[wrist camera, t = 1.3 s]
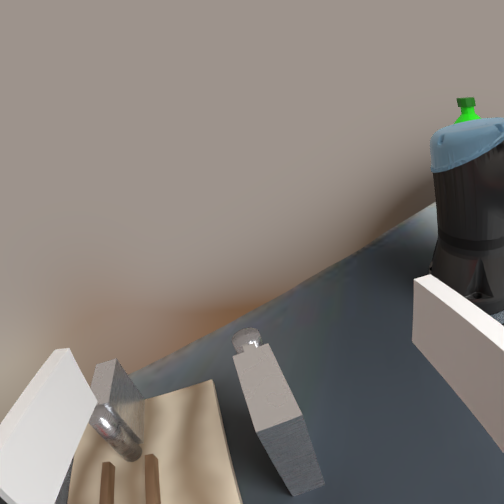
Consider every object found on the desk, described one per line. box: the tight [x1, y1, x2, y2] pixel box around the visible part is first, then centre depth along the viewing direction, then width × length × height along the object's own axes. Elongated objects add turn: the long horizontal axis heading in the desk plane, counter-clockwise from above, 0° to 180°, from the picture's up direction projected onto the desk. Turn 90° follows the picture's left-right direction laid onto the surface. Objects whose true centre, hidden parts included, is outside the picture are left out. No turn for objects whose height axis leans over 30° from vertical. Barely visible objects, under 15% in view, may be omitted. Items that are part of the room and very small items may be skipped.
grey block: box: [232, 328, 325, 497], centre depth 25 cm, size 3×11×12 cm, turn 14°
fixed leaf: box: [88, 359, 145, 462], centre depth 31 cm, size 3×10×8 cm, turn 13°
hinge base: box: [67, 379, 243, 504], centre depth 27 cm, size 20×21×2 cm
